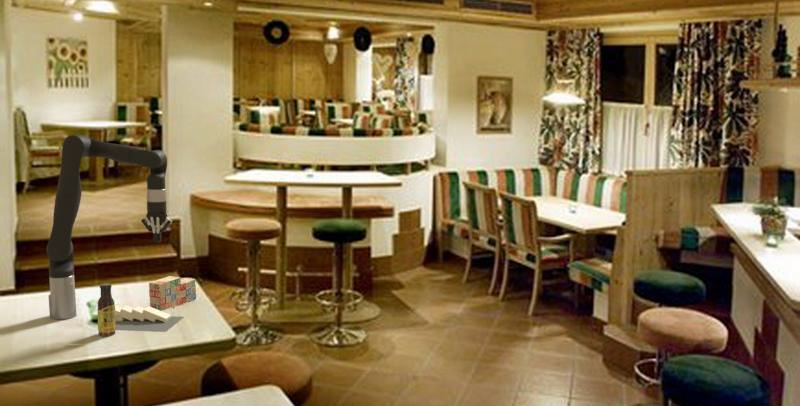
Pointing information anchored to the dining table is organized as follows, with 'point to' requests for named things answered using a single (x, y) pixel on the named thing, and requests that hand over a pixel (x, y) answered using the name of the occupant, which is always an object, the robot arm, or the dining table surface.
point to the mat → (147, 324)
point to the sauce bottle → (106, 312)
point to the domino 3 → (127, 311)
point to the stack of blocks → (171, 292)
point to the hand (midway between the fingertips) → (157, 242)
